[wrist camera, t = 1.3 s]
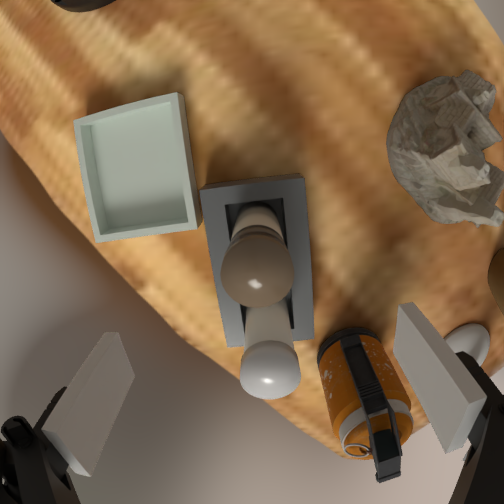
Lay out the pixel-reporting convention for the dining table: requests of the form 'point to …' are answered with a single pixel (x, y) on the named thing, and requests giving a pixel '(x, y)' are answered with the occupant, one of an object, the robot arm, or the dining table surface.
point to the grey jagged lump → (448, 149)
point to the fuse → (269, 353)
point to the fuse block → (294, 235)
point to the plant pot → (497, 278)
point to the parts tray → (138, 169)
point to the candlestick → (470, 341)
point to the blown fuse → (257, 259)
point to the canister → (365, 399)
